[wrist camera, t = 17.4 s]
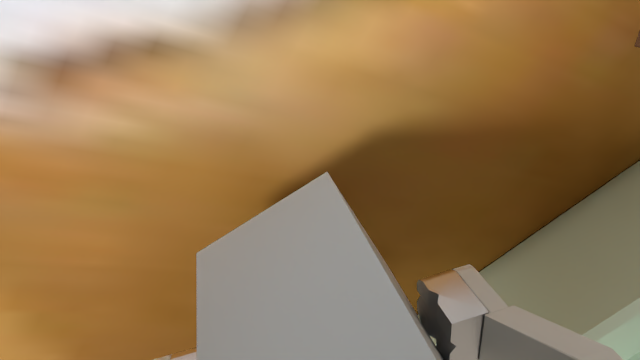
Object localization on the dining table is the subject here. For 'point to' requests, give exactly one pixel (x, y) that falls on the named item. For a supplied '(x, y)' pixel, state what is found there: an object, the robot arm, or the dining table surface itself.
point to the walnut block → (638, 40)
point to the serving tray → (582, 268)
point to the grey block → (304, 288)
